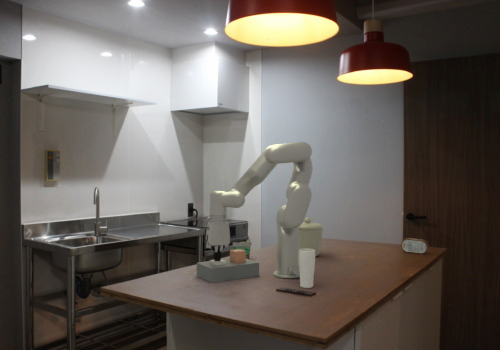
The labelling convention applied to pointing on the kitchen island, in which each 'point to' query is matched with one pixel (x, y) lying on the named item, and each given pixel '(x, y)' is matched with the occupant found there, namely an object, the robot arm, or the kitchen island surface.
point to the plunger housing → (227, 270)
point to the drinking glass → (306, 267)
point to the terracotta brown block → (237, 256)
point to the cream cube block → (217, 262)
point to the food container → (243, 247)
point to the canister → (310, 236)
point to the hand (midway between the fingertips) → (217, 260)
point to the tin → (415, 245)
